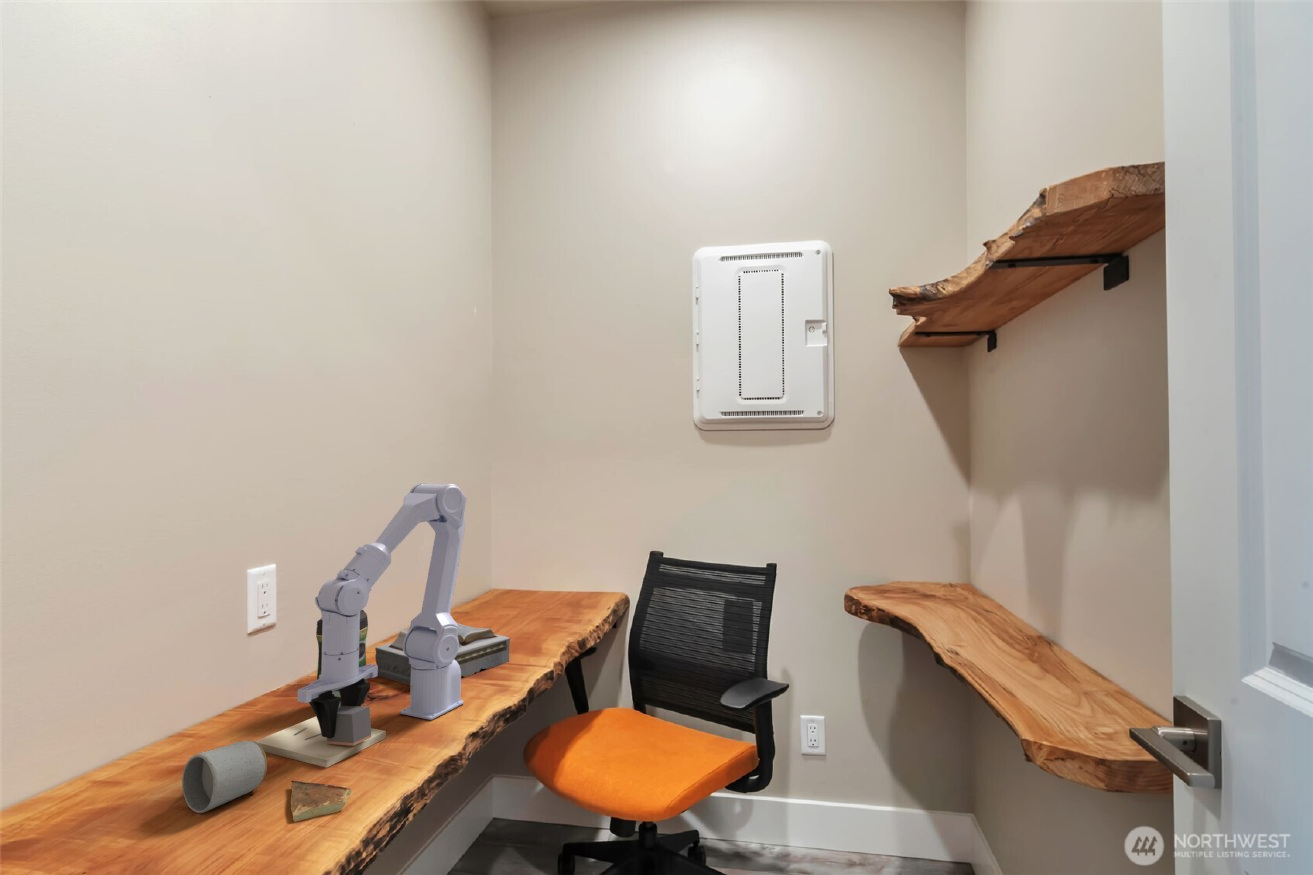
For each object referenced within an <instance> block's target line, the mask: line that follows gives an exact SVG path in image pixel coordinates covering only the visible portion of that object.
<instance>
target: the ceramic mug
mask: <svg viewBox="0 0 1313 875" xmlns="http://www.w3.org/2000/svg"><path fill="white" fill-rule="evenodd" d="M255 741H256V740H255ZM255 741H254V740H241V741H237V742H234V743H231V744H227V745H225V746H224V745H223V746H221V747H218V748H217V747H216V748H213V749H211V750H207V751H203V752H199V753H197V754H195V755H192V756H191V757H189V759H188V761H187V762H186V764H185V766H184V768H183V773H182V777H181V785H182V786H181V787H182V794H183V797H184V801H185V802H186V804H187V806H188V807H189V808H190V810H191V811H193V812H194V813H197V814H204V813H207V812H209V811H210V810H213V809H215V808H217V807H219V806H222V805H225V804H226V803H228V802H231V801H233V800H235V799H237V798H240V797H242V796H243V795H244V796H245V795H246V794H248V793H250V792H252V791H254V790H255V789H257V787H259V786H260V785H261V784H262V782H263V781H264V780H265V778H266V774H267V769H268V760H267V755H266V752H264V750H263V748H262V747H261V746H260V744H258V743H257V742H255Z"/></svg>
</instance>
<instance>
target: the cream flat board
mask: <svg viewBox="0 0 1313 875" xmlns="http://www.w3.org/2000/svg"><path fill="white" fill-rule="evenodd" d="M386 736H387V731H386V730H383V729H377V728H372V727H371V738H369V739H367V740H365V741H362V742H360V743H358V744H356V745H354V746H351V745H337V744H327V738H326V737H322V734H321V729H320V726H319V722H318V719H317V716H316V715H315V716H314V717H313V716H312V717H311V718H309V719H306V720H304V721H301V722H299V723H297V724H294V725H292V726H288V727H287V728H283V729H282V730H279V731H276V732H274V733H271V734H270V735H266V736H265V737H264V736H263V737H262V738H260V739H256V740H255V742H257V743H258V744H260V746H261V747H262V748H263V750H264V752H265V753H268V754H272V755H275V756H280V757H284V758H287V759H291V760H296V761H298V762H299V761H300V762H303V763H307V764H311V765H314V766H318V767H322V768H329V767H331V766H333V765H334V764H337V763H339V762H341V761H342V760H346V759H347V758H349V757H351V756H353V755H355V754H357V753H359V752H361V751H363V750H365V749H367V748H369V747H371V746H373V745H375V744H378V743H379V742H382V741H383V740H385V739H386V738H387V737H386Z"/></svg>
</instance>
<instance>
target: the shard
mask: <svg viewBox="0 0 1313 875" xmlns="http://www.w3.org/2000/svg"><path fill="white" fill-rule="evenodd" d="M290 786H291V787H290V788H291V794H290V811H291V813H292V814H291V815H292V820H293V822H294V823H295V822H299V821H303V820H307V819H311V818H314V817H319V816H323V815H329V814H333V813H338V812H339V813H340V811H342V810H343V808H344V807H345V805H346V803H347V799H348V798H349V797H350V796H351V794H352V788H350V787H349V788H348V787H345V786H339V785H338V786H337V785H332V784H326V783H320V782H319V783H317V782H304V781H297V780H291V781H290Z"/></svg>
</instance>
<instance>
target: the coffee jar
mask: <svg viewBox="0 0 1313 875" xmlns="http://www.w3.org/2000/svg"><path fill="white" fill-rule="evenodd" d="M368 621H369V620H368V614H367V613H366V611H364V609H362V610H361V611H360V632H359V667H362V666H365V665H367V653H366V650H367V648H366V647H367V645H366V644H367V643H366V642H367V635H368V629H369V622H368ZM322 627H323V620H321V618H320V619H318V620H317V621H316V630H315V631H316V633H315V638H316V640H317V644H318V658H317V674H316V680H318V679H319V675H321V668H322ZM364 682H367V683H368V678H367V679H364ZM332 694H334V696H336V697H340V692H339V689H338V690H335V691H333V692H332ZM367 698H368V693H367V694H366V696H365V698H364V700H363V702H364V701H366V699H367ZM339 707H342V703H341V701H340V704H339ZM339 707H338V708H339Z"/></svg>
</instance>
